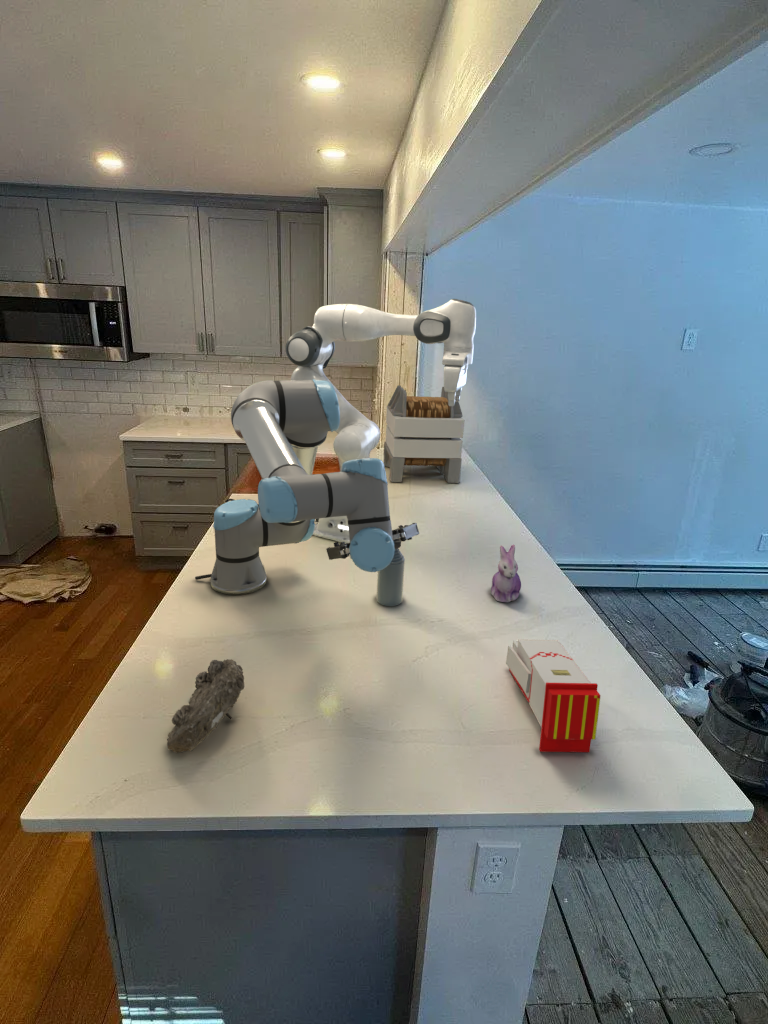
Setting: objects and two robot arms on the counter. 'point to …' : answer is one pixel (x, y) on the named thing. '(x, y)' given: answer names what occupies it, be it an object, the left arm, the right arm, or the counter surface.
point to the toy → (556, 694)
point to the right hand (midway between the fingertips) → (454, 403)
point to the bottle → (391, 581)
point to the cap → (397, 544)
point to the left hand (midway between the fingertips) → (372, 539)
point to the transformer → (423, 434)
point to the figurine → (506, 577)
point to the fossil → (206, 705)
